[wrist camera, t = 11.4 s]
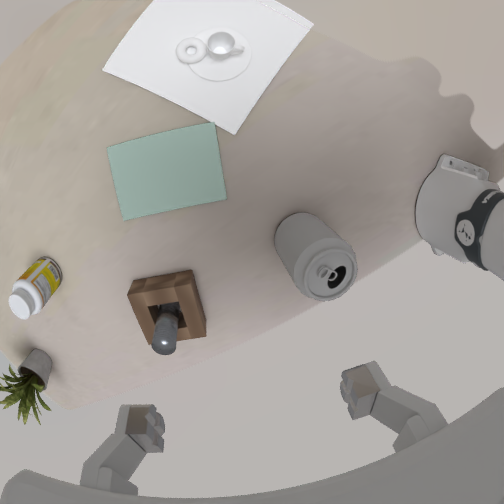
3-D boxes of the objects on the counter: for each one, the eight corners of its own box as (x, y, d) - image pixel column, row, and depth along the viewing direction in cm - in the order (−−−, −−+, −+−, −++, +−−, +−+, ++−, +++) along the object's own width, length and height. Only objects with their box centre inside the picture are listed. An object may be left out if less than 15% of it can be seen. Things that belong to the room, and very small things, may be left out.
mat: (214, 121, 31) (214, 121, 31) (226, 198, 35) (227, 199, 35) (107, 147, 30) (106, 147, 30) (124, 219, 34) (123, 220, 34)
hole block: (192, 269, 39) (190, 283, 35) (206, 319, 42) (206, 336, 39) (133, 280, 38) (127, 294, 34) (152, 328, 42) (148, 344, 38)
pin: (177, 291, 40) (171, 335, 31) (183, 307, 41) (178, 353, 32) (158, 294, 39) (148, 338, 30) (164, 310, 41) (156, 356, 32)
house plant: (35, 318, 38) (-3, 379, 23) (84, 368, 44) (61, 434, 29) (8, 340, 39) (-24, 392, 24) (50, 383, 45) (29, 438, 30)
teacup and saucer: (168, 62, 27) (163, 52, 23) (204, 16, 25) (204, 3, 21) (229, 93, 30) (232, 86, 26) (263, 46, 28) (270, 35, 24)
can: (306, 267, 41) (338, 314, 30) (263, 249, 39) (284, 295, 28) (332, 224, 39) (375, 259, 28) (289, 201, 37) (323, 231, 26)
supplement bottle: (34, 277, 35) (3, 311, 26) (39, 249, 33) (4, 281, 24) (59, 293, 37) (32, 331, 27) (66, 266, 35) (35, 302, 26)
